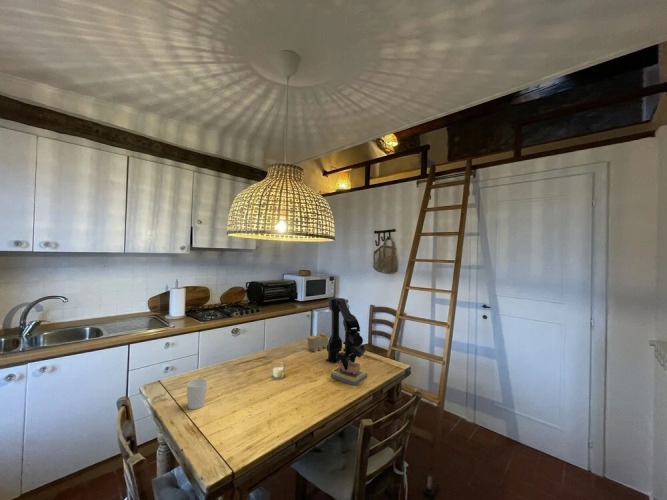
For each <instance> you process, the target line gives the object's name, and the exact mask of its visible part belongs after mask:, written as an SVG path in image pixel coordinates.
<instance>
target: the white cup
mask: <svg viewBox="0 0 667 500" xmlns="http://www.w3.org/2000/svg"><path fill="white" fill-rule="evenodd" d="M207 383H208V380H207V379H205V378H195V379H191V380H189V381H188V382H187V384H186V395H187V396H186V398H187V400H186V401H187V408H188V409H190V410H197V409H201V408H202V407H204V406H205V402H206V401H205V400H206V394H207V386H208V385H207Z"/></svg>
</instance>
